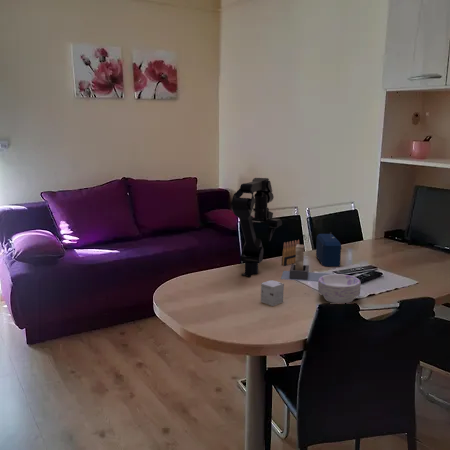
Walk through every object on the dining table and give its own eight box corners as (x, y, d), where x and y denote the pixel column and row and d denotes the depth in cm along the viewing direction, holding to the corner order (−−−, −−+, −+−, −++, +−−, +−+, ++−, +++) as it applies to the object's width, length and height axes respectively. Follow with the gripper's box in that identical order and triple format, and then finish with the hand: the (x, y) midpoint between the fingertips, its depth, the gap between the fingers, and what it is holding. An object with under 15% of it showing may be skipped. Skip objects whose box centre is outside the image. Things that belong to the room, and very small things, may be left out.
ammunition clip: (284, 268, 212) (284, 242, 210) (281, 267, 214) (281, 241, 211) (300, 264, 219) (301, 239, 216) (297, 263, 220) (298, 238, 218)
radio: (342, 269, 211) (344, 225, 207) (322, 269, 211) (324, 225, 207) (332, 256, 231) (334, 217, 227) (315, 256, 231) (316, 217, 228)
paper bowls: (309, 295, 177) (310, 275, 175) (343, 290, 182) (344, 271, 180) (332, 309, 163) (333, 288, 161) (368, 304, 168) (369, 283, 167)
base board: (280, 281, 194) (280, 278, 193) (283, 272, 205) (283, 270, 205) (339, 285, 188) (339, 283, 188) (339, 276, 200) (339, 274, 200)
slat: (295, 276, 195) (295, 247, 193) (296, 272, 200) (296, 244, 198) (302, 276, 195) (303, 247, 192) (303, 273, 199) (304, 244, 197)
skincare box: (260, 302, 170) (260, 283, 169) (271, 298, 174) (271, 279, 173) (273, 306, 166) (273, 286, 164) (283, 302, 170) (284, 283, 169)
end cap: (289, 278, 194) (289, 270, 193) (291, 272, 203) (291, 264, 202) (307, 279, 192) (307, 271, 192) (308, 273, 201) (308, 265, 201)
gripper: (287, 205, 210) (286, 238, 213) (251, 201, 219) (250, 234, 222) (276, 208, 200) (276, 243, 203) (239, 205, 210) (239, 238, 213)
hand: (260, 239), depth 211 cm, fingers open, 9 cm apart
